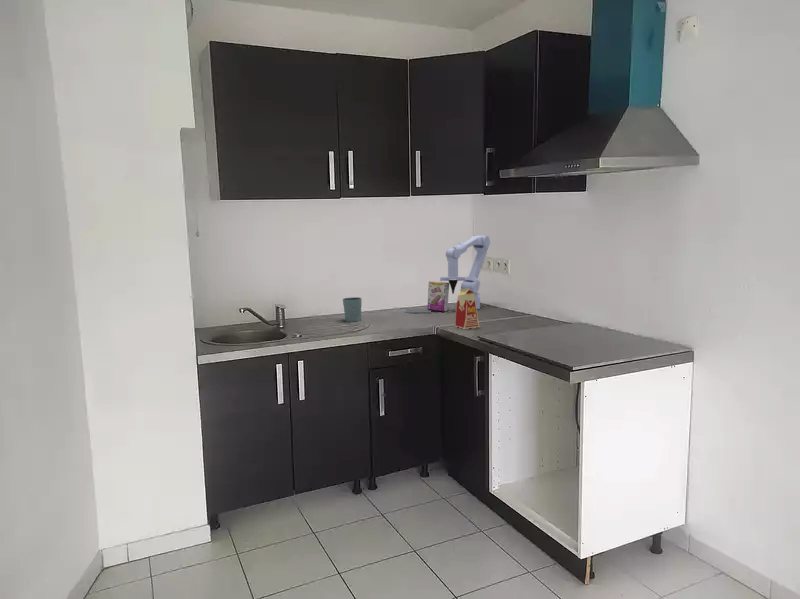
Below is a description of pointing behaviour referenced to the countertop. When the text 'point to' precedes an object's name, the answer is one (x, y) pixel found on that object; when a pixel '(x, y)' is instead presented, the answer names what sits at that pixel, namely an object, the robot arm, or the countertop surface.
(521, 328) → the countertop surface
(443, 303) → the candy bar box
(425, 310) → the mat
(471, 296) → the milk carton
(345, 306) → the teal cup
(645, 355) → the countertop surface
